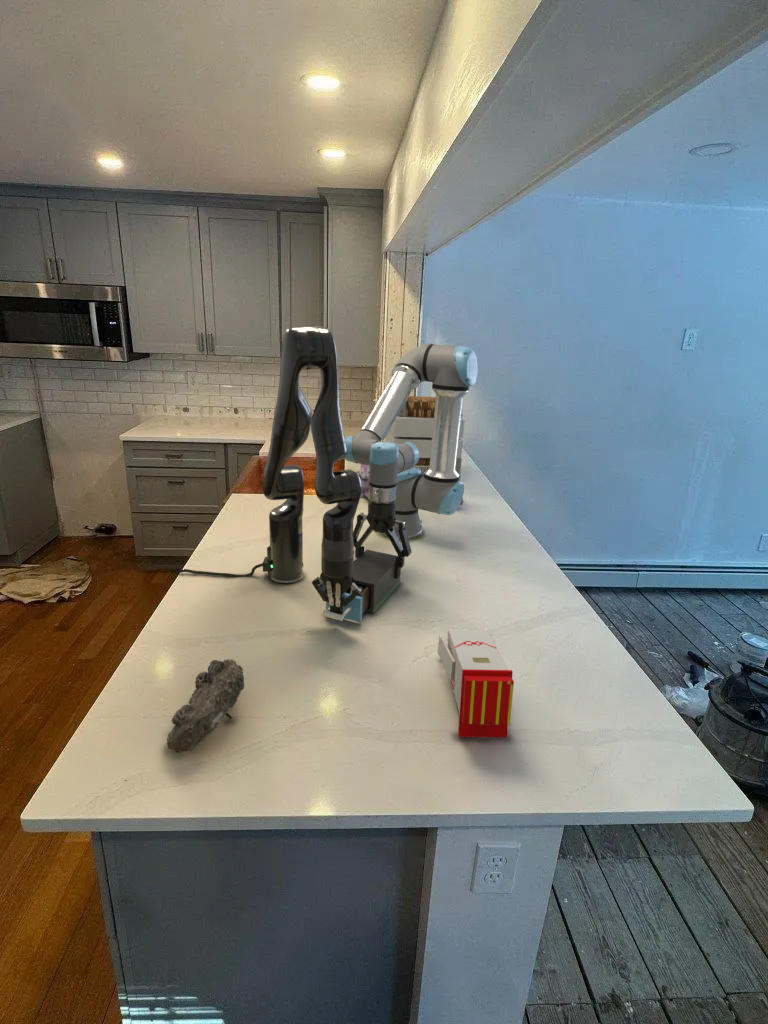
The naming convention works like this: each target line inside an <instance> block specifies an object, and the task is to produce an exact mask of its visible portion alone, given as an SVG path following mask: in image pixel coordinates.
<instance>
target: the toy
mask: <svg viewBox="0 0 768 1024" xmlns="http://www.w3.org/2000/svg"><path fill="white" fill-rule="evenodd" d="M446 640H447V643H446V641H445V639H444V636H443V635H442V634H439V637H438V646H437V656H438V657H439V659H440V661H441V663H442V666H443V668H444V670H445V672H446V674H447V677H448V679H449V681H450V684H451V687H452V690H453V693H454V697H455V701H456V705H457V708H458V711H459V714H458V715H459V716H458V730H457V731H458V732H457V737H458V738H508V731H509V726H510V725H511V717H512V707H513V697H514V696H513V695H514V684H515V680H514V679H513V673H514V671H513V670H512V669H508V667H507V665H506V662H505V661H504V659H503V658H502V655H501V653H500V651H499V649H498V647H497V643H496V639H495V637H494V635H493V634H491V632H490V631H489V629H467V628H466V629H465V628H463V629H461V628H460V629H459V628H448V630H447V639H446Z"/></svg>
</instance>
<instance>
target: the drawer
mask: <svg viewBox="0 0 768 1024" xmlns="http://www.w3.org/2000/svg"><path fill="white" fill-rule="evenodd" d="M355 584H356V585H357V586H358V587H359V586H360V587H362V591H361V592H360V593H359V594H358V595H357V596H356V597H355V598H354V599H353V600H352V601H351V602H350V603H349V604H348V605H347V606H346V607H344V606H343V614H342V615H341V614H337V613H333V612H330V604H329V603H328V602H327V601H326V602H325V609H324V610H323V611H322V614H321V615H322V617H325V618H330V619H332V618H333V620H335V621H336V620H337V621H341V622H343V620H344V619H346V620H349V621H354V622H358V623H361V622H362V620H363V614H364V613H365V612H366V610H367V609H368V608H369V606H370V601H371V587H370V586H366V585H362V584H357V583H355ZM350 590H351V587H350V588H349V589H348V590H347V591H346V594H345V599H346V598H348V597H349V596H350V595H351V593H350Z"/></svg>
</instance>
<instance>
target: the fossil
mask: <svg viewBox="0 0 768 1024" xmlns="http://www.w3.org/2000/svg"><path fill="white" fill-rule="evenodd" d="M243 670H244V669H243V667H242V665H240V664H237V662H236V661H235V660H234V659H232V658H231V659H227V658H226V659H224V660H223V661H222V660H217V659H212V660H211V661H210V663H209V665H208V666H207V671H201V672H199V673H198V674H197V675H196V676H195V680H194V684H195V685H194V687H195V689H194V690H193V693H192V694H191V697H190V698H189V700H188V704H184V705H182V706H181V707H180V709H177V710H176V711H175V713H174V715H173V716H172V718H171V723H172V724H173V727H172V730H171V731H170V732H168V734H167V738H166V741H167V742H166V745H167V749H168V750H169V751H173V752H174V753H176V754H178V753H182V752H188V751H189V752H192V751H193V750H195V748H196V747H197V746H199V744H200V743H201V742H203V741H204V740H205V739H206V738H207V737H208V736H209V735H210V734H211V733H212V732H214V730H215V729H217V727H218V726H219V724H220V722H221V721H222V720H223V719H224V718H225V716H226V717H227V719H229V720H233V717H232V715H230V714H229V710H230V709H231V708H234V706H235V704H236V703H237V702H238V699H239V697H240V695H241V693H242V691H243V690H245V689H244V688H245V675H244V671H243Z"/></svg>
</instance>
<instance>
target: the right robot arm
mask: <svg viewBox="0 0 768 1024" xmlns="http://www.w3.org/2000/svg"><path fill="white" fill-rule="evenodd" d="M478 367H479V365H478V359H477V356H476V353H475V351H474V350H473V349H472V348H471V347H468V346H461V345H451V344H450V345H449V344H436V343H435V344H434V343H423V344H419V345H418V346H415V347H414V348H412V349H411V350H410V351H407V352H406V353H405V354H404V355H403V356H402V357H401V358H399V360H398V361H397V362H396V364H394V367H393V369H392V370H391V378H390V380H389V382H388V383H387V384H386V387H385V388H384V389H383V391H382V393H381V395H380V396H379V398H378V400H377V401H376V403H375V405H374V406H373V408H372V410H371V412H370V413H369V415H368V417H367V418H366V420H365V421H364V423H363V425H362V426H361V427H360V430H359V431H358V433H357V434H356V435H348V436H347V437H345V442H346V447H347V455H346V457H344V458H343V459H344V460H345V461H347V462H349V463H353V464H359V465H361V464H365V465H370V466H369V496H368V497H367V496H365V495H363V497H362V498H364V499H365V500H366V501H367V503H368V504H367V514H365V513H364V512H360V513H359V514H357V515H356V523H355V526H354V528H353V542H354V557H355V559H357V558H358V557H359V556H360V555H361V554H362V553H364V552H365V546H363V545H364V543H365V542H366V541H367V539H368V538H369V536H370V535H371V534H372V533H373V532H375V533H379V534H380V535H381V536H382V537H385V538H387V539H388V540H389V541H390V543H391V545H392V547H393V548H394V551H395V553H396V554H397V555H396V556H397V557H396V562H395V579H398V578H399V576H400V577H401V574H402V573H401V572H402V568H403V567H404V566H405V559H406V558H408V557H409V556H411V554H412V552H413V551H412V548H411V544H410V540H415V539H418V538H420V537H421V536H422V535H423V525H422V521H423V519H421V518H420V515H419V510H421V511H426V512H429V513H435V514H438V515H445V516H451V515H453V514H454V513H456V511H457V510H458V509H459V508H460V506H461V505H460V503H461V501H462V498H463V499H464V493H465V487H464V486H465V485H464V483H463V482H462V481H460V482H459V474H458V473H457V472H456V470H455V467H456V458H457V449H458V440H459V430H460V421H461V418H462V417H461V412H462V413H463V411H462V410H463V402H464V396H465V395H467V394H468V393H469V390H470V388H471V387H473V386H474V385H475V384H476V382H477V379H478V373H479V371H478V370H479V368H478ZM423 382H429V383H432V385H431V389H432V391H433V393H435V397H436V402H435V413H434V423H433V434H432V444H431V455H430V466H429V465H428V468H427V469H426V470H424V472H423V474H422V470H421V468H419V467H416V466H415V465H416V464H417V462H418V460H419V451H418V449H417V447H416V446H415V445H414V444H412V443H410V442H405V443H404V442H403V443H400V444H396V443H390V442H386V441H385V438H386V435H387V433H388V431H389V430H390V428H391V426H392V424H393V423H394V421H395V419H396V417H397V416H398V414H399V412H400V411H401V409H402V407H403V405H404V404H405V402H406V400H407V398H408V397H409V396H411V393H412V391H413V390H416V389H417V388H418V387H419V386H420V384H421V383H423ZM314 462H316V459H314ZM458 507H459V508H458ZM366 521H367V523H368V527H367V529H366V530H365V532H364V533H363V534H362V535H361V537H360V538H359V536H360V533H361V531H362V528H363V525H364V523H365V522H366ZM358 539H359V540H358Z"/></svg>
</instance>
